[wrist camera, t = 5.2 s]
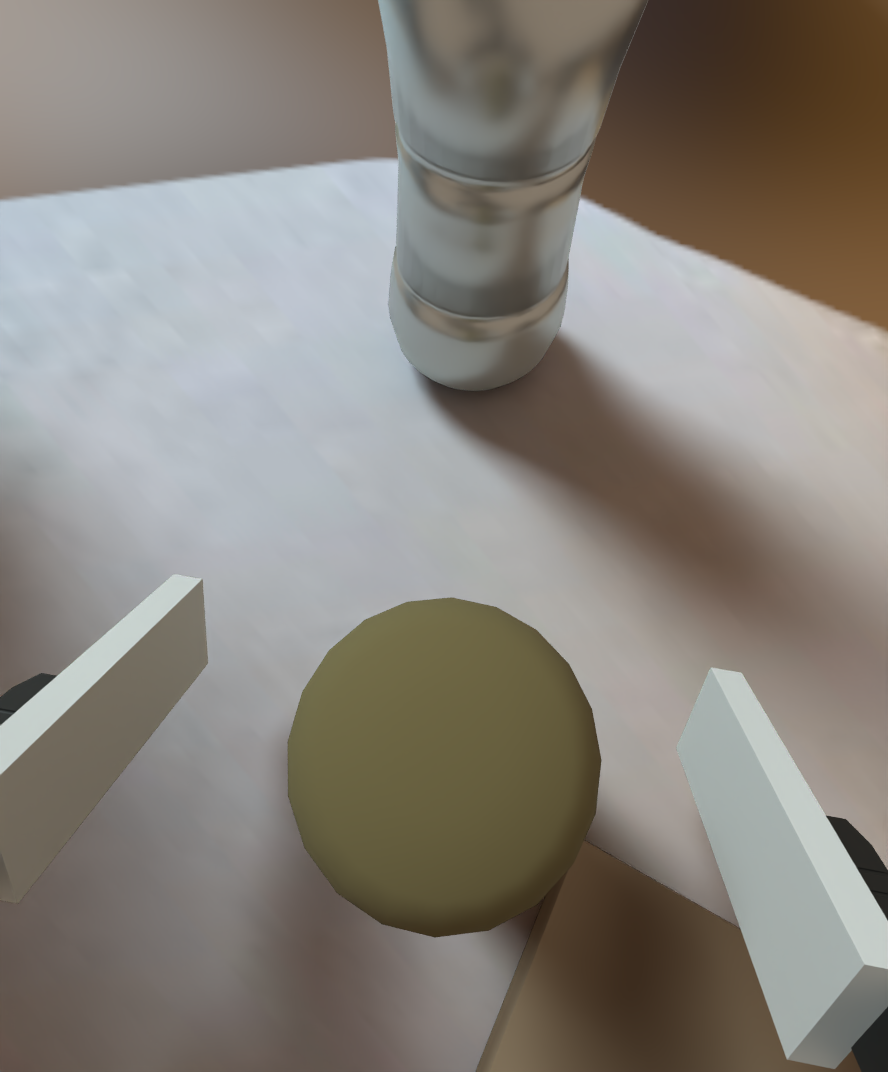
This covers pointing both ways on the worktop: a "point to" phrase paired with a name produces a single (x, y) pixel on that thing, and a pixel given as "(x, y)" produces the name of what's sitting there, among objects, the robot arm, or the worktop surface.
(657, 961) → the nut plate
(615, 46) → the plastic bottle
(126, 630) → the robot arm
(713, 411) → the worktop surface
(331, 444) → the worktop surface
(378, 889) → the cork
